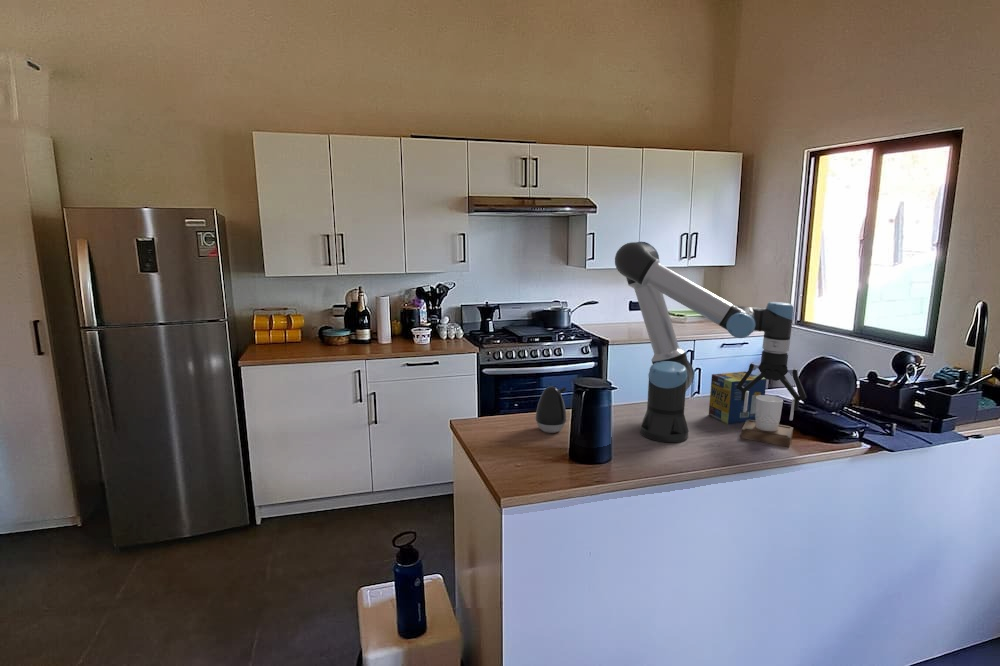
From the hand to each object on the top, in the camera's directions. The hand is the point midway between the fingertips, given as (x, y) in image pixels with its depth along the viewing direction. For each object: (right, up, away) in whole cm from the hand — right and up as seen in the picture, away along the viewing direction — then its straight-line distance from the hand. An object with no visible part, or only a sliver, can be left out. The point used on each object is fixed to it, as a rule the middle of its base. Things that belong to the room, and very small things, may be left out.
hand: (767, 415), depth 177 cm
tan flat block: (0, -7, +1) cm, 7 cm away
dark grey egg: (-70, -6, +6) cm, 70 cm away
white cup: (0, -5, +1) cm, 5 cm away
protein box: (-2, -4, +20) cm, 20 cm away
